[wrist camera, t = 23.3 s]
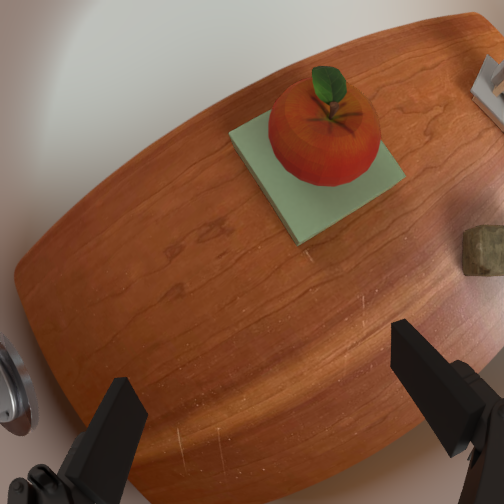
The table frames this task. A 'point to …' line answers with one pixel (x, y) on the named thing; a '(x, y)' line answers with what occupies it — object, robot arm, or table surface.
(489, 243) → the stone block
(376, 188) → the green block
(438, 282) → the table surface
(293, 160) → the fruit
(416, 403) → the robot arm
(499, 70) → the desk lamp
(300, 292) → the table surface
